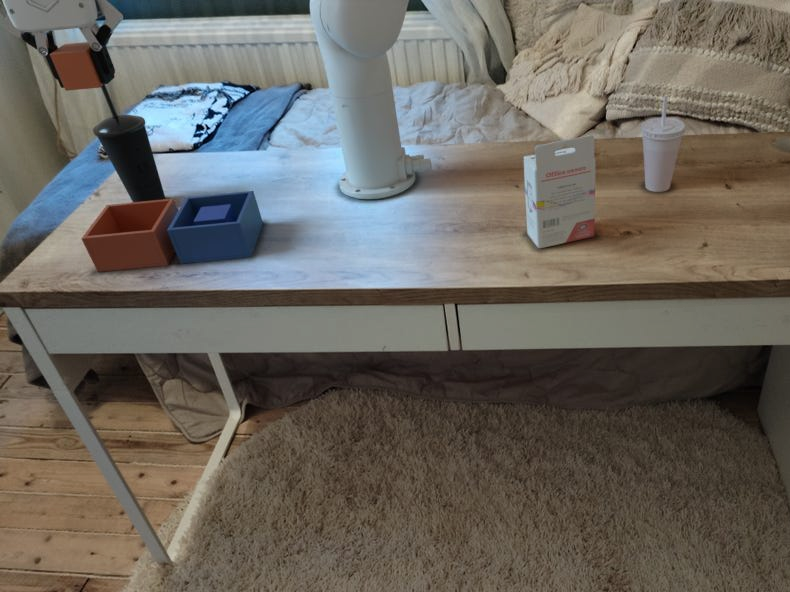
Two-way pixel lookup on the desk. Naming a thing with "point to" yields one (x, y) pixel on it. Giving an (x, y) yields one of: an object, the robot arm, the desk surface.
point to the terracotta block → (76, 66)
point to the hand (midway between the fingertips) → (88, 81)
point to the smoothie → (661, 149)
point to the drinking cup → (130, 153)
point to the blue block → (215, 215)
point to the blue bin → (216, 229)
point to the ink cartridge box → (560, 191)
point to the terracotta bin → (131, 235)
